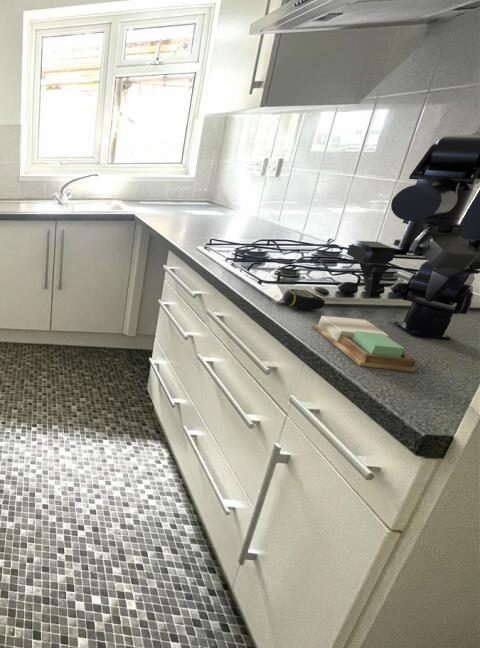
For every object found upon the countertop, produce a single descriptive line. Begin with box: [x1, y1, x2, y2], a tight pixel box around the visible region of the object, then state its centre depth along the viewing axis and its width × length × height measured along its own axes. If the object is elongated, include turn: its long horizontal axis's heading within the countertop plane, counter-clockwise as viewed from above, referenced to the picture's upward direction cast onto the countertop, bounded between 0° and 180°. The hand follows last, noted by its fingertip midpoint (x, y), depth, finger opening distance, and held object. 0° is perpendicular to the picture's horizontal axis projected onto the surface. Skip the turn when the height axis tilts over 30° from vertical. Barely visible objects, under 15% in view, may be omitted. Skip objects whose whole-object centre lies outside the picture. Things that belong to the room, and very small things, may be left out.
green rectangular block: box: [352, 331, 405, 357], centre depth 79 cm, size 6×4×3 cm
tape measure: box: [282, 288, 326, 311], centre depth 101 cm, size 7×7×4 cm
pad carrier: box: [315, 315, 417, 373], centre depth 82 cm, size 16×8×3 cm, turn 166°
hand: (398, 298), depth 78 cm, fingers open, 9 cm apart
